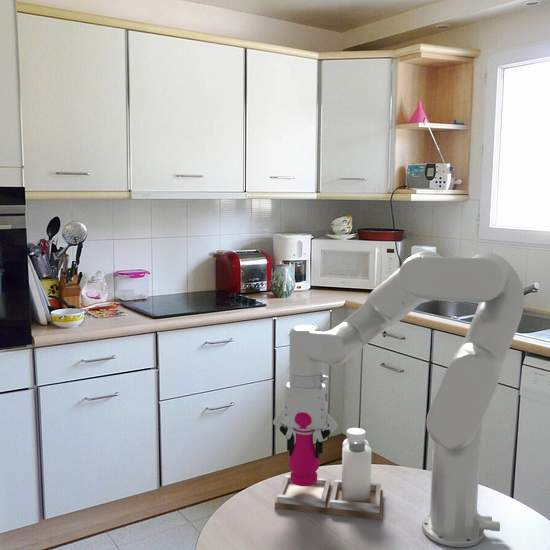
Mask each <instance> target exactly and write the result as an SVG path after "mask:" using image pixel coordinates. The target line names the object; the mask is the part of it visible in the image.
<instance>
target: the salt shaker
mask: <svg viewBox="0 0 550 550" xmlns="http://www.w3.org/2000/svg"><path fill="white" fill-rule="evenodd" d="M342 446H343V445H342ZM341 450H342V451H341V453H342V455H341V458H342V459H341V480H342V500H343V501H350V502H360V503H369V502H370V493H371V483H372V480H371V479H372V448H371V446H370V445H369V446H367V445H365V442H364V441H363V440H359V439H353V440H350V441H349V444H347V445H345V446H343V448H342V449H341Z"/></svg>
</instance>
